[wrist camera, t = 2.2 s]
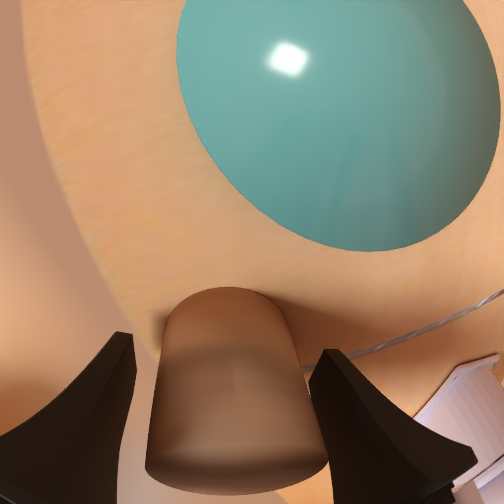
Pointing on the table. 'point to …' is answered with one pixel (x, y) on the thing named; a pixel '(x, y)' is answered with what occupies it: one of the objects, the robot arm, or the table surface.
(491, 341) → the table surface
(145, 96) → the table surface
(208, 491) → the walnut cylinder
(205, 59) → the teal rounded disc
